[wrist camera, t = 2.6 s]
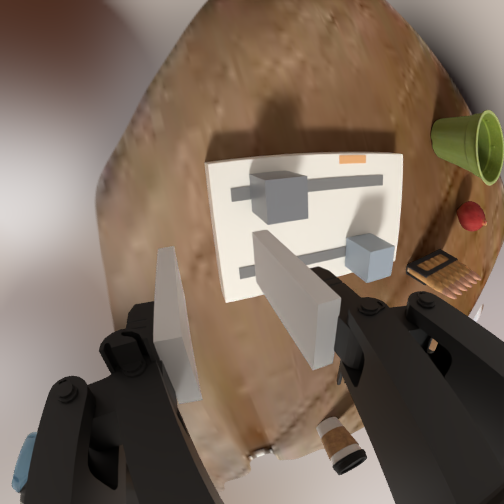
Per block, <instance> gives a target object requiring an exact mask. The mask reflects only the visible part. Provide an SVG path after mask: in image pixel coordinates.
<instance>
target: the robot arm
mask: <svg viewBox="0 0 504 504" xmlns="http://www.w3.org/2000/svg"><path fill="white" fill-rule="evenodd" d="M252 237H253V249H254V261H255V273H256V282H257V284H258V286H259V287H260V289H261V290H262V292H263V293H264V295H265V297H266V298H267V300H268V301H269V303H270V304H271V306H272V308H273V309H274V311H275V312H276V314H277V315H278V317H279V318H280V320H281V322H282V323H283V325H284V326H285V328H286V329H287V331H288V332H289V334H290V336H291V337H292V339H293V340H294V342H295V343H296V345H297V346H298V348H299V349H300V351H301V353H302V354H303V356H304V357H305V359H306V360H307V362H308V363H309V365H310V366H311V368H312V369H313V370H315V369H318V368H321V367H324V366H326V365H329V364H332V363H333V358H334V352H336V353H337V355H338V356H339V357H340V359H341V361H340V366H339V371H338V376H337V385H340V384H341V380H342V376H343V378H344V380H345V382H344V383H346V385H347V387H348V389H349V392H350V394H351V396H352V399H353V401H354V403H355V405H356V408H357V410H358V412H359V415H360V417H361V419H362V422H363V424H364V426H365V429H366V431H367V434H368V436H369V438H370V441H371V443H372V445H373V448H374V450H375V453H376V455H377V458H378V460H379V462H380V465H381V468H382V470H383V473H384V475H385V478H386V480H387V483H388V485H389V488H390V491H391V493H392V496H393V498H394V501H395V503H396V504H504V342H503V341H501V340H500V339H499V338H497V337H496V336H495V335H493V334H492V333H491V332H489V331H488V330H486V329H485V328H483V327H482V326H480V325H479V324H478V323H476V322H475V321H474V320H472V319H471V318H469V317H468V316H466V315H465V314H463V313H462V312H460V311H459V310H457V309H456V308H454V307H453V306H451V305H450V304H448V303H447V302H445V301H444V300H442V299H441V298H439V297H438V296H436V295H434V294H432V293H428V292H425V291H420V292H415V293H412V294H411V295H410V296H409V298H408V302H407V306H401V307H392V308H389V307H388V305H386V304H385V303H384V302H383V301H381V300H378V299H376V298H370V297H365V298H361V297H360V296H358V295H357V294H356V293H355V292H354V291H353V290H352V289H350V288H349V287H348V286H347V285H346V284H345V283H342V281H341V280H340V279H339V278H337V277H336V276H335V275H334V274H333V273H332V272H330V271H329V270H327V269H324V268H322V267H319V266H317V267H313V268H309V267H308V266H307V265H305V264H304V263H303V262H302V261H301V260H300V259H299V258H298V257H297V256H296V255H295V254H294V253H292V252H291V251H290V250H289V249H288V248H287V247H286V246H285V245H284V244H283V243H282V242H280V241H279V240H278V239H277V238H276V237H275V236H274V235H273V234H272V233H270V232H269V231H268V230H261V231H255V232H252ZM432 339H434V340H436V341H437V342H438V345H437V347H436V350H435V351H432V350H430V349H429V346H430V344H431V341H432ZM99 352H100V354H101V356H102V357H103V360H104V361H105V363H106V365H107V367H108V369H109V371H110V372H111V375H110V376H108V377H106V378H104V379H102V380H100V381H97V382H95V383H92V384H89V385H87V384H86V382H85V381H84V380H83V379H82V378H80V377H77V376H69V377H64V378H63V379H61V380H59V381H57V382H56V383H55V384H54V385H53V386H52V388H51V390H50V392H49V395H48V397H47V400H46V404H45V407H44V410H43V413H42V417H41V420H40V424H39V428H38V431H37V432H32V433H30V434H29V435H28V436H27V438H26V439H25V442H24V444H23V446H22V449H21V451H20V454H19V457H18V460H17V463H16V466H15V470H14V476H13V480H12V487H13V489H15V490H16V492H18V493H21V497H20V504H224V503H223V501H222V499H221V498H220V496H219V494H218V492H217V490H216V488H215V487H214V485H213V483H212V481H211V479H210V477H209V475H208V473H207V471H206V469H205V467H204V465H203V463H202V461H201V459H200V457H199V455H198V453H197V450H196V448H195V446H194V444H193V442H192V439H191V437H190V435H189V433H188V430H187V428H186V426H185V423H184V421H183V418H182V416H181V414H180V412H179V410H178V408H177V401H176V398H177V400H178V402H179V404H183V403H189V402H194V401H200V400H203V399H202V394H201V390H200V385H199V380H198V375H197V369H196V364H195V359H194V353H193V347H192V341H191V335H190V329H189V323H188V316H187V309H186V302H185V295H184V291H183V287H182V282H181V278H180V273H179V268H178V263H177V259H176V254H175V249H174V246H171V247H166V248H161V249H158V256H157V268H156V282H155V300H154V301H152V302H147V303H141V304H135V305H134V306H133V308H132V309H131V310H130V312H129V313H128V319H127V325H126V329H121V330H118V331H116V332H114V333H112V334H110V335H109V336H107V337H106V338H105V339H104V340H103V342H102V343H101V345H100V349H99Z"/></svg>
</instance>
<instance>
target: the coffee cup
mask: <svg viewBox="0 0 504 504" xmlns="http://www.w3.org/2000/svg"><path fill="white" fill-rule="evenodd" d="M317 431H318V433H319V436H320V438H321V440H322V443H323V445H324V447H325V450H326V452H327V454H328V457H329V459H330V460H331V461H332V463H333V468H334V470H335V471H336V472H337V473H338V475H342V474H344V473H346V472H348V471H350V470H352V469H353V468H355V467H357V466H358V465H360V464H361V463H363V462H364V461H365V460H366V459H367V456H366V452H365V451H364V450H363V449H361V448H360V447H359V444H358V443H357V442H356V441H355V439H354V438H353V437H352V436H351V434H350V433H349V432H348V431H347V430H346V428H345V427H344V426H343V425H342V424H341V422H340V421H339V420H338V418H337V417H330V418H328V419H325V420H324V421H322V422H321V423H320V424H319V425H318V426H317Z"/></svg>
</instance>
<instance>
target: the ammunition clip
mask: <svg viewBox="0 0 504 504" xmlns="http://www.w3.org/2000/svg"><path fill="white" fill-rule="evenodd" d="M457 260H458V259H457V258H455V257H453V256H451V255H450V254H448V253H446V252H444V251H443V250H441V249H439V250H437V251H435V252H433V253H431V254H429V255H427V256H425V257H423V258H420V259H418V260H416V261H414V262H412V263H410V264H407V269H406V274H407V275H409V276H411V277H412V278H414V279H416V280H417V281H419V282H420V283H422V284H424V285H428V286H430V287H432V288H433V289H435V290H436V291H439V292H441V293H442V294H444V295H446V296H448V297H450V298H453V299H456V298H457V297H456V296H455V294H458V295H462V292H461V291H460V290H463V291H467V288H466V287H465V286H467V287H472V285H471V283H474V284H477V281H476V280H481V277H480V276H479V275H478V274H477V273H475V272H474V271H472V270H471V269H470V268H468V267H467V266H466V265H464V264H462V263H461V262H459V261H457ZM475 279H476V280H475ZM470 282H471V283H470ZM459 289H460V290H459ZM454 293H455V294H454Z"/></svg>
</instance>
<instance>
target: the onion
mask: <svg viewBox="0 0 504 504" xmlns="http://www.w3.org/2000/svg"><path fill="white" fill-rule="evenodd" d="M457 215H458V219H459V222H460V224H461V225H462V227H463V228H464V229H466V230H468V231H476V230H478V229H480V228H481V227H482V226H483V225H487V221H486V219H485V214H484V212H483V210H482V209H481V207H480V206H479V205H478V204H477V203H475V202H472V201H468V202H466V203H464V204H462V205H461V206H460V208H459V209H457Z"/></svg>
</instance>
